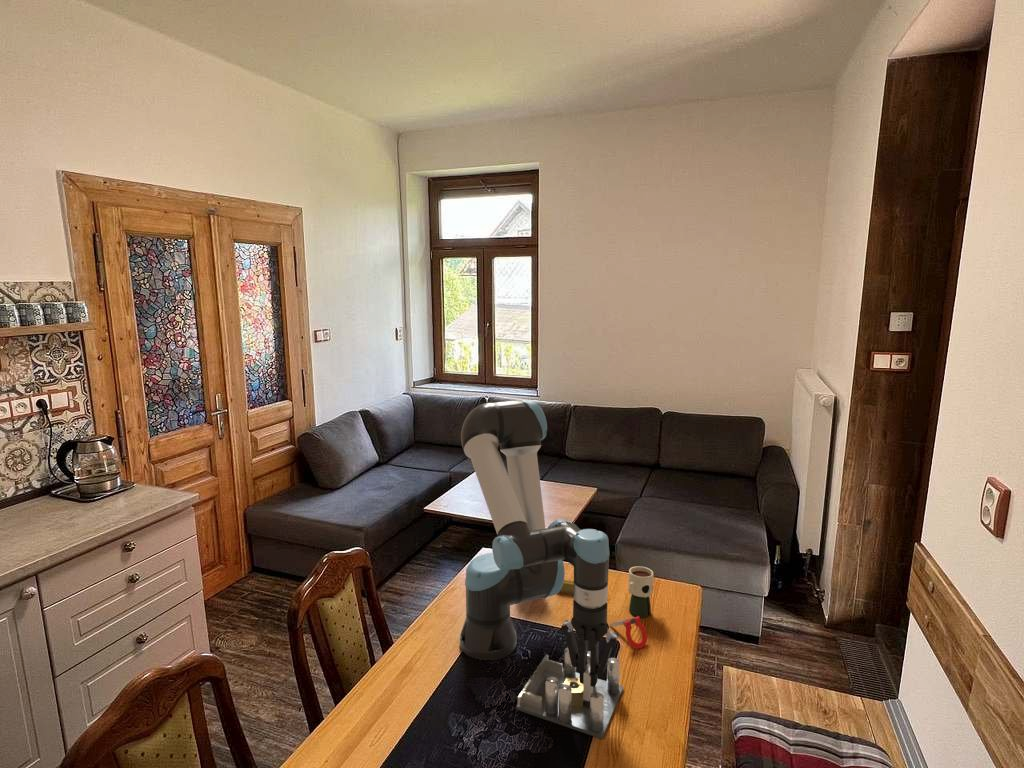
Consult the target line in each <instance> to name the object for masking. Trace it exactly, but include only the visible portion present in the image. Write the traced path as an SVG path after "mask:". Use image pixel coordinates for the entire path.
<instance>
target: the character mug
mask: <svg viewBox="0 0 1024 768" xmlns="http://www.w3.org/2000/svg"><path fill="white" fill-rule="evenodd" d="M628 593H629V594H631V596H630V601H629V607H628V610H629V612H630V613H631V614H633V615H634V616H636V617H637V616H639V617H640V618H647V617H648V616H649V615H651V613H652V612H651V611H652V609H651V608H652V607H651V598H650V597H651V596H653V593H654V571H653V570H652V569H650V568H648V567H646V566H640V565H639V566H632V567H630V568H629V569H628Z"/></svg>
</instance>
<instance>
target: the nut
mask: <svg viewBox="0 0 1024 768" xmlns="http://www.w3.org/2000/svg"><path fill="white" fill-rule="evenodd" d="M579 679H580V678H566V680H565V681H564V683H563V684H568V685H570V686H571V688H572V700H571V705H580V704H583V703H584V701H585V700H583V684H582V683H580V681H579Z"/></svg>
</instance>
